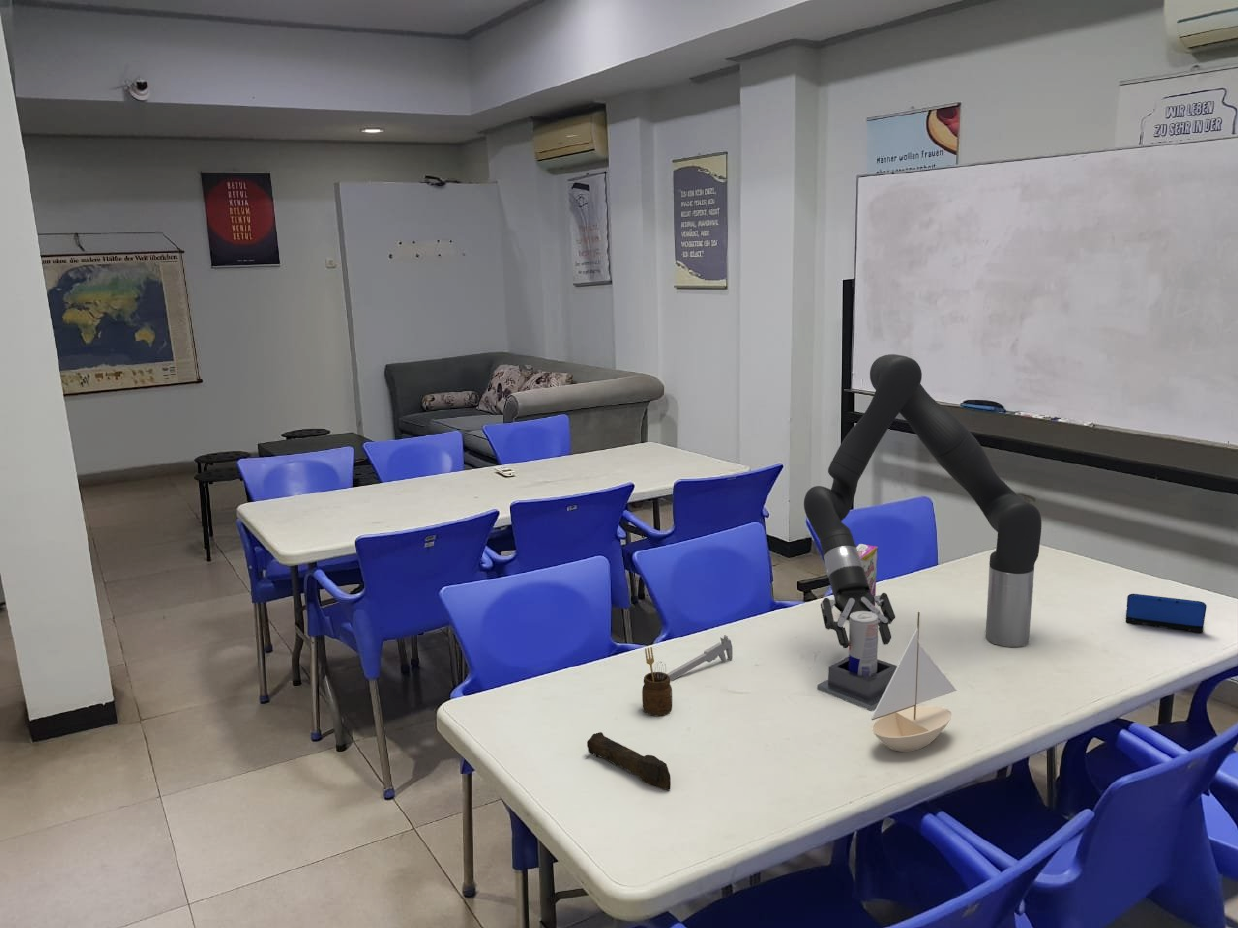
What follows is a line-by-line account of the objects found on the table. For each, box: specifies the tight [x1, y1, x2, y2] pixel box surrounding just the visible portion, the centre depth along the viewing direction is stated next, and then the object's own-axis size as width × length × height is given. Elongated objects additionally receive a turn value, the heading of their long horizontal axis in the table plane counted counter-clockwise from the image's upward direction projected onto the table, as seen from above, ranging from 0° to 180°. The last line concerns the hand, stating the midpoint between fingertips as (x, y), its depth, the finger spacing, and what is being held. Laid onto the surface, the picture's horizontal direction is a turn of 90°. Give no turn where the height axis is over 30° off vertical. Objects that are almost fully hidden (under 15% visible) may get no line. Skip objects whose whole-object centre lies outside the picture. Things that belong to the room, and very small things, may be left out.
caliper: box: [666, 634, 734, 682], centre depth 200 cm, size 20×1×6 cm, turn 124°
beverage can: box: [848, 611, 879, 678], centre depth 188 cm, size 6×6×15 cm
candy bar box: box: [846, 543, 879, 621], centre depth 228 cm, size 11×5×16 cm, turn 144°
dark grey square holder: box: [817, 656, 898, 712], centre depth 189 cm, size 13×13×5 cm
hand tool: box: [586, 731, 672, 791], centre depth 162 cm, size 19×4×5 cm, turn 41°
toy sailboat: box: [870, 611, 958, 753], centre depth 166 cm, size 21×25×9 cm
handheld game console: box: [1125, 593, 1208, 634], centre depth 216 cm, size 16×13×9 cm
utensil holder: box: [641, 646, 673, 717], centre depth 183 cm, size 6×6×12 cm
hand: (866, 644), depth 186 cm, fingers open, 8 cm apart
